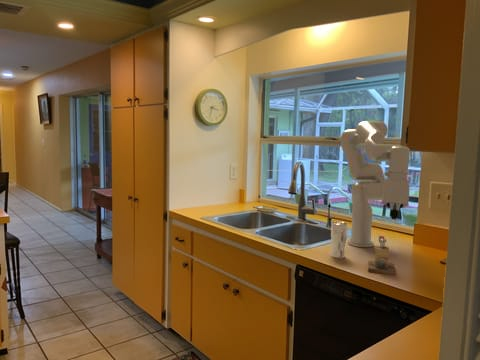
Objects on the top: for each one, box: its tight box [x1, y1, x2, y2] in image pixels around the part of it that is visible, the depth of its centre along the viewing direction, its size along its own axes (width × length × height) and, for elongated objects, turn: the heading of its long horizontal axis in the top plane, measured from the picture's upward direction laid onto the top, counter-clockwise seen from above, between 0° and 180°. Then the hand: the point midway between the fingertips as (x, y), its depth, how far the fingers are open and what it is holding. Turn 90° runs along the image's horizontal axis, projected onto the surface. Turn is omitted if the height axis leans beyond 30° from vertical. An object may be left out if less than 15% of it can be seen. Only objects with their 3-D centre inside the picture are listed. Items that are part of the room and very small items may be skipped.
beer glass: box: [330, 221, 348, 259], centre depth 174 cm, size 7×7×15 cm
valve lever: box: [378, 235, 387, 248], centre depth 160 cm, size 10×3×3 cm, turn 164°
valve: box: [367, 245, 396, 276], centre depth 157 cm, size 10×10×9 cm
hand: (393, 218), depth 165 cm, fingers closed
